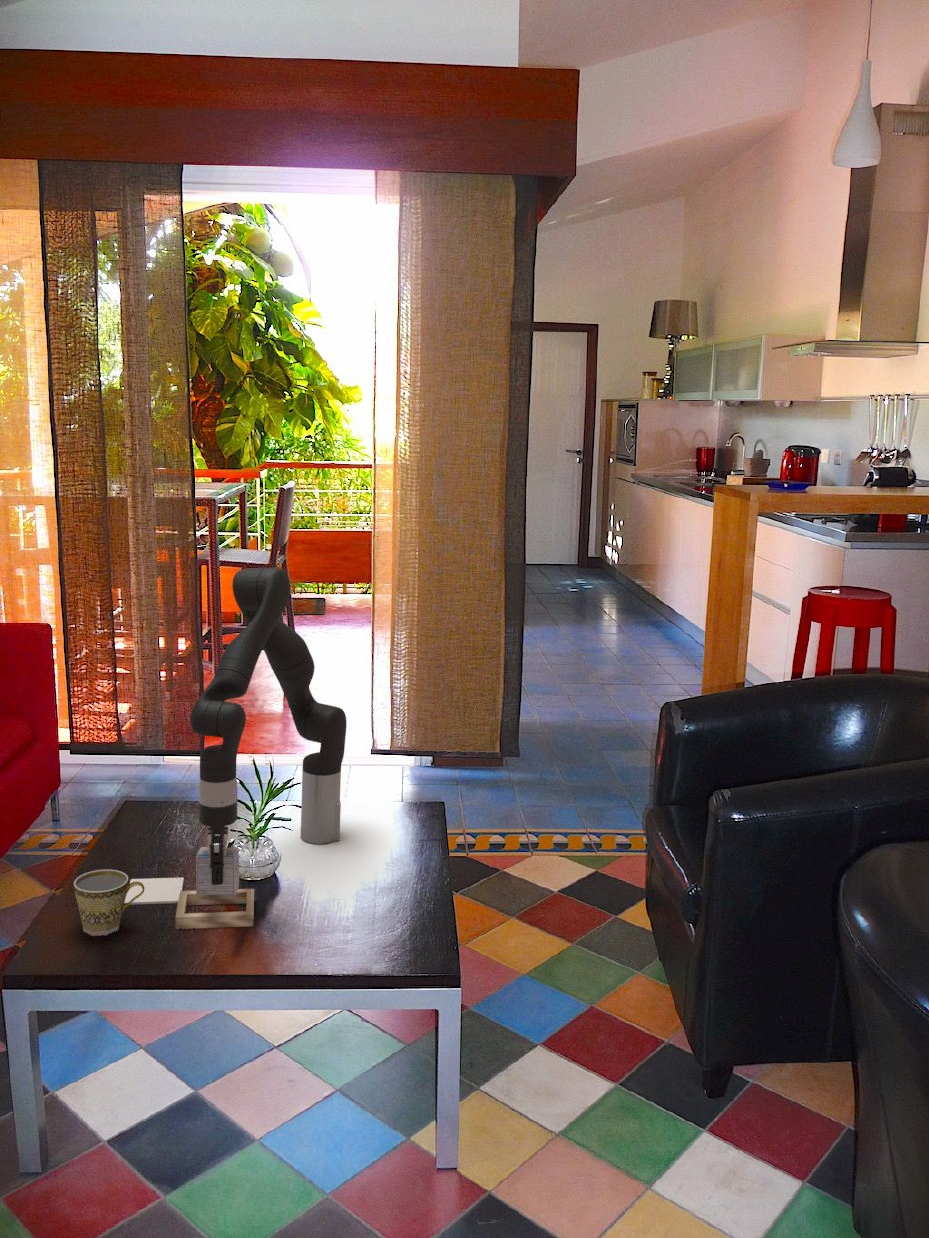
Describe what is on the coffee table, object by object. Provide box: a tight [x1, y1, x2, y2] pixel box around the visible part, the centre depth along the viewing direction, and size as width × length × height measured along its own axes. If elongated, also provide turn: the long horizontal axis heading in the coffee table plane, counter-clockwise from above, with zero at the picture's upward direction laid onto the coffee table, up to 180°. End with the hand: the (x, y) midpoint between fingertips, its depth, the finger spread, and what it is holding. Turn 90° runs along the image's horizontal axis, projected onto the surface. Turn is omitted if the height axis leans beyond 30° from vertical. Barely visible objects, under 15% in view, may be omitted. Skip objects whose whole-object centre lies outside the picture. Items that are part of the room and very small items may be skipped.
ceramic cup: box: [73, 869, 144, 937], centre depth 197 cm, size 13×10×10 cm
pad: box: [124, 876, 185, 906], centre depth 214 cm, size 11×11×1 cm
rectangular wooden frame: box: [174, 888, 255, 930], centre depth 206 cm, size 15×12×2 cm
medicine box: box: [195, 846, 240, 896], centre depth 205 cm, size 8×4×9 cm, turn 92°
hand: (217, 877), depth 205 cm, fingers closed on medicine box, 5 cm apart
